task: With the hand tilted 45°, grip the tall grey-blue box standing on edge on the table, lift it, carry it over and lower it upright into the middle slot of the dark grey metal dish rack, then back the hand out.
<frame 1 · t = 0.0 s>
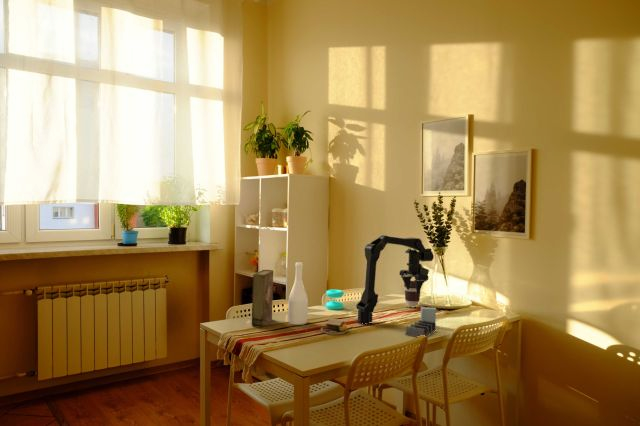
hand: (413, 291, 267), 15 cm above the table, tool pointing down, fingers open, 9 cm apart
tall grey-blue box: (427, 326, 254), on the table
book: (262, 323, 251), on the table
toy sandwich meal: (333, 332, 239), on the table
coffee cup: (411, 307, 297), on the table
dish rack: (421, 333, 240), on the table
wine bottle: (297, 323, 252), on the table
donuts: (334, 308, 288), on the table
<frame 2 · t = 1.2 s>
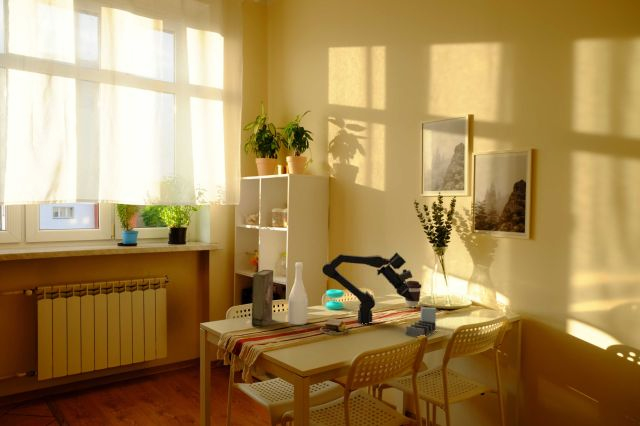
hand: (412, 298, 254), 13 cm above the table, tool tilted 45°, fingers open, 9 cm apart
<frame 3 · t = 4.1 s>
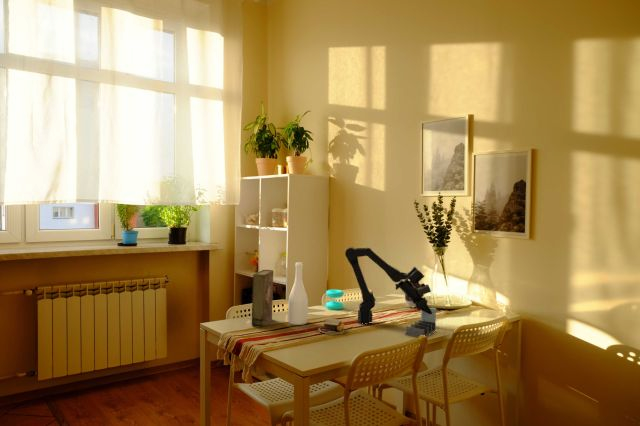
hand: (431, 313, 253), 7 cm above the table, tool tilted 45°, fingers closed on tall grey-blue box, 3 cm apart
tall grey-blue box: (427, 326, 254), on the table, touching gripper
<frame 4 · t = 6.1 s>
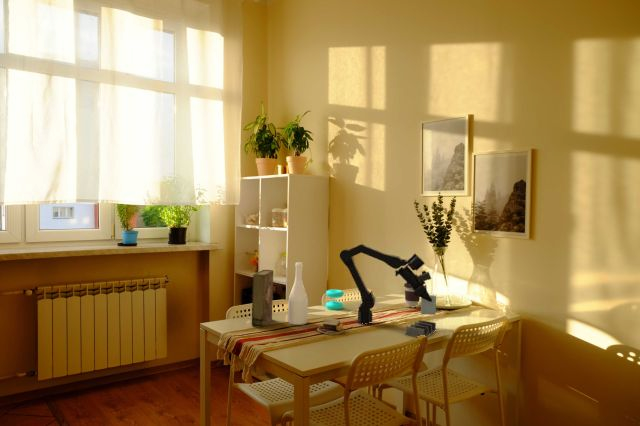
hand: (431, 300, 250), 13 cm above the table, tool tilted 45°, fingers closed on tall grey-blue box, 3 cm apart
tall grey-blue box: (428, 313, 250), point 7 cm above the table, touching gripper
when the fingers open (9 cm above the table, at t = 8.5 s): tall grey-blue box stays where it is, resting on dish rack.
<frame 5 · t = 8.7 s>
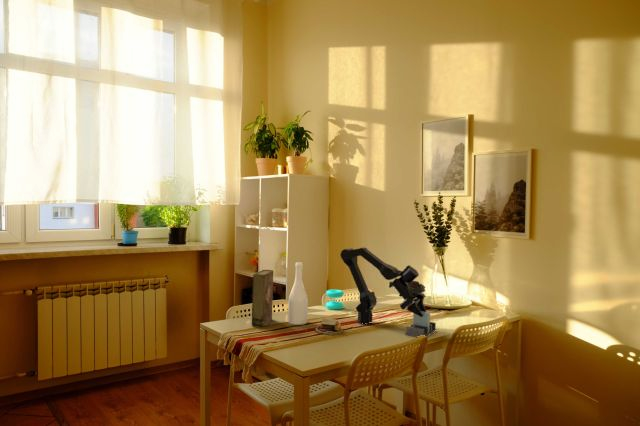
hand: (424, 315, 239), 9 cm above the table, tool tilted 45°, fingers open, 5 cm apart
tall grey-blue box: (421, 330, 240), point 1 cm above the table, touching dish rack
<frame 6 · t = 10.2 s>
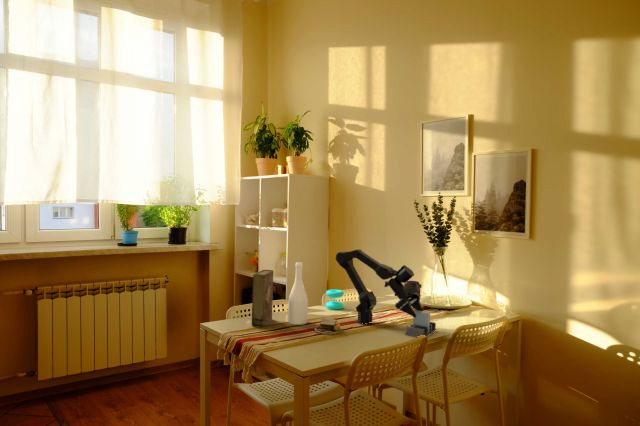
hand: (419, 315, 240), 8 cm above the table, tool tilted 45°, fingers open, 9 cm apart
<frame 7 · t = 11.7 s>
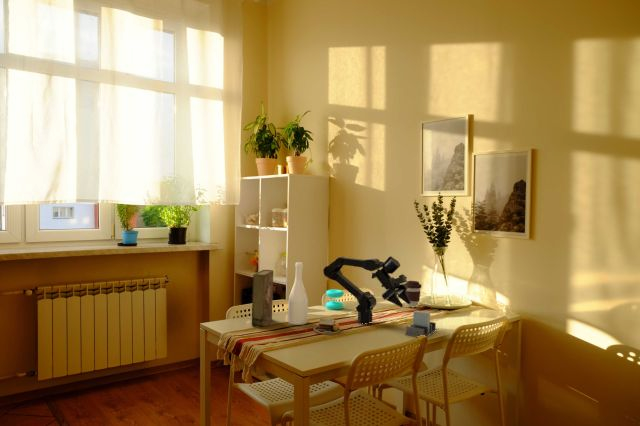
hand: (406, 305, 244), 12 cm above the table, tool tilted 45°, fingers open, 9 cm apart
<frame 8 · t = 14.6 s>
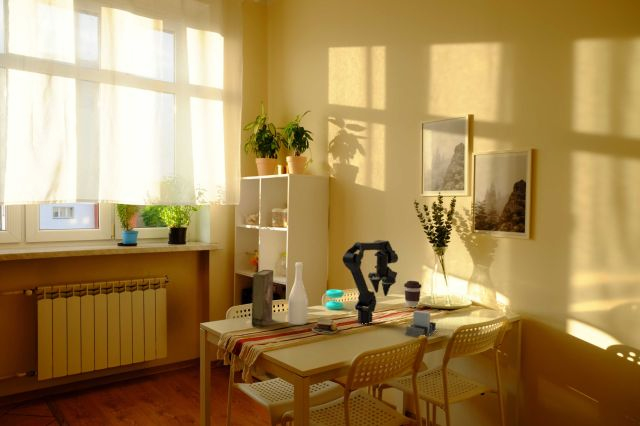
hand: (381, 294, 265), 13 cm above the table, tool pointing down, fingers open, 9 cm apart
at the end: tall grey-blue box 0.0 cm off-centre on the dish rack, point 1.0 cm above the dish rack's base; tall grey-blue box tilted 0°; the gripper is holding nothing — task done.
